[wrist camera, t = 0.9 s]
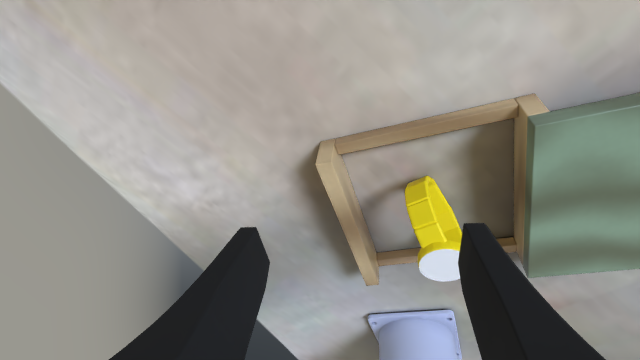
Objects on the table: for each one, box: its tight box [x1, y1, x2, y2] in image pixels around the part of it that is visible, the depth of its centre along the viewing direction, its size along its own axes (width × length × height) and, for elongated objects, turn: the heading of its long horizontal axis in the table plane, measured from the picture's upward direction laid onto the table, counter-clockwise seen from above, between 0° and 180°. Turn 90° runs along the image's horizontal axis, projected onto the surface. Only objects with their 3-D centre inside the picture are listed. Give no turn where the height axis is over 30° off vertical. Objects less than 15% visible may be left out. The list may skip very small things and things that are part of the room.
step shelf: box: [315, 93, 640, 286], centre depth 21 cm, size 12×20×3 cm, turn 109°
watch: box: [405, 176, 462, 281], centre depth 21 cm, size 6×3×6 cm, turn 36°
